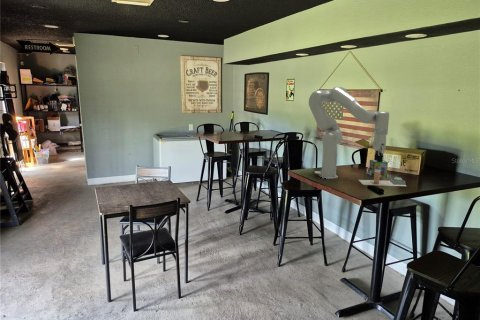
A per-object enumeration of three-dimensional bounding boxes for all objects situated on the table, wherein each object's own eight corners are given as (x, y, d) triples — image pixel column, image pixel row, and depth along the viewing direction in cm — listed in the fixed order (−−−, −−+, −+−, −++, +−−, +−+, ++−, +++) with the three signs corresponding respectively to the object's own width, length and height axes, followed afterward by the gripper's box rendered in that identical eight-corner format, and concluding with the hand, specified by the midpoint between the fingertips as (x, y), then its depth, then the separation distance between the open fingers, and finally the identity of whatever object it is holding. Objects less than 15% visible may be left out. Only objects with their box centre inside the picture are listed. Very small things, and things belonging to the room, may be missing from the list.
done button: (395, 182, 204) (395, 178, 204) (392, 180, 209) (393, 177, 208) (402, 182, 204) (403, 179, 203) (400, 180, 208) (400, 177, 208)
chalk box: (386, 178, 221) (388, 157, 218) (373, 178, 221) (375, 157, 219) (381, 175, 230) (383, 154, 227) (368, 175, 231) (370, 154, 228)
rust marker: (374, 183, 204) (375, 169, 203) (372, 182, 208) (374, 168, 206) (379, 184, 204) (381, 170, 202) (378, 182, 207) (379, 168, 206)
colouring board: (363, 185, 203) (363, 181, 202) (358, 181, 215) (358, 176, 214) (406, 187, 200) (407, 182, 200) (399, 182, 212) (400, 178, 212)
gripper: (370, 130, 208) (368, 158, 212) (378, 133, 192) (376, 163, 195) (382, 130, 207) (380, 158, 211) (392, 133, 191) (389, 164, 194)
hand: (378, 160), depth 203 cm, fingers open, 4 cm apart
